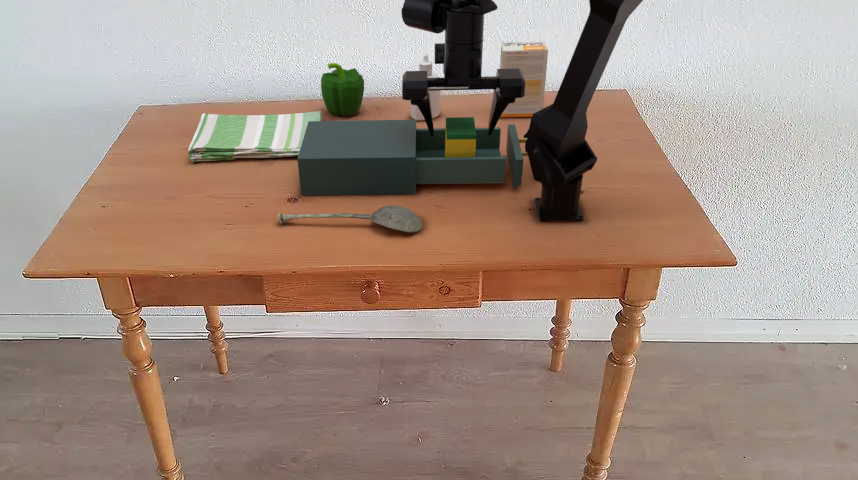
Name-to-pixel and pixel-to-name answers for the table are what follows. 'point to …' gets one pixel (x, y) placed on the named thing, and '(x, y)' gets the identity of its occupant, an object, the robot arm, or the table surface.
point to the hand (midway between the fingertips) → (460, 135)
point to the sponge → (460, 137)
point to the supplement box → (526, 75)
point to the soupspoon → (374, 218)
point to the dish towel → (249, 136)
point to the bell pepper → (342, 90)
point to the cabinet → (358, 158)
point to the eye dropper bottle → (434, 95)
